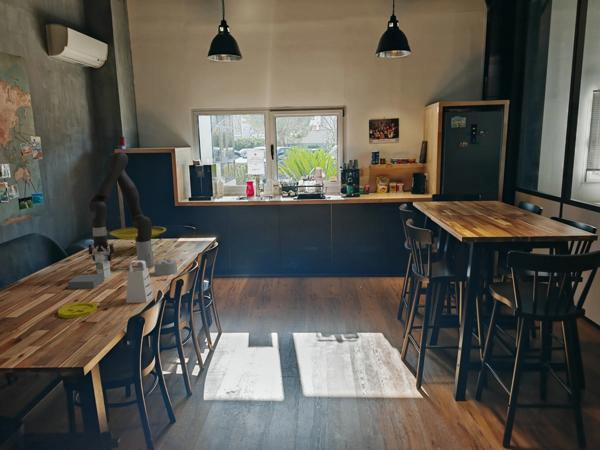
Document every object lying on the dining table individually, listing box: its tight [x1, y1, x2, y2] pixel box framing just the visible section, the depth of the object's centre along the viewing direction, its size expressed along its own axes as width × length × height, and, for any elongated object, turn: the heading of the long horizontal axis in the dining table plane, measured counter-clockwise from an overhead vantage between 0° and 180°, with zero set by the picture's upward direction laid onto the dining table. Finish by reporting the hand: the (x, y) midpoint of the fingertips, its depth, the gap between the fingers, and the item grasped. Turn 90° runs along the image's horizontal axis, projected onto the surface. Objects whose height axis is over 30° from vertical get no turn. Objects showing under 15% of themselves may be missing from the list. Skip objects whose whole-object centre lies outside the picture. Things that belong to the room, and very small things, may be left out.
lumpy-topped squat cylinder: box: [153, 257, 178, 277], centre depth 288 cm, size 10×13×9 cm
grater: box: [125, 259, 154, 304], centre depth 239 cm, size 10×10×20 cm
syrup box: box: [94, 251, 111, 279], centre depth 281 cm, size 6×6×14 cm
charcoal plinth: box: [67, 273, 105, 290], centre depth 267 cm, size 14×14×4 cm
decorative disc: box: [57, 301, 98, 319], centre depth 224 cm, size 17×18×2 cm
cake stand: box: [109, 226, 167, 254], centre depth 348 cm, size 40×40×15 cm
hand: (102, 261), depth 281 cm, fingers open, 8 cm apart
